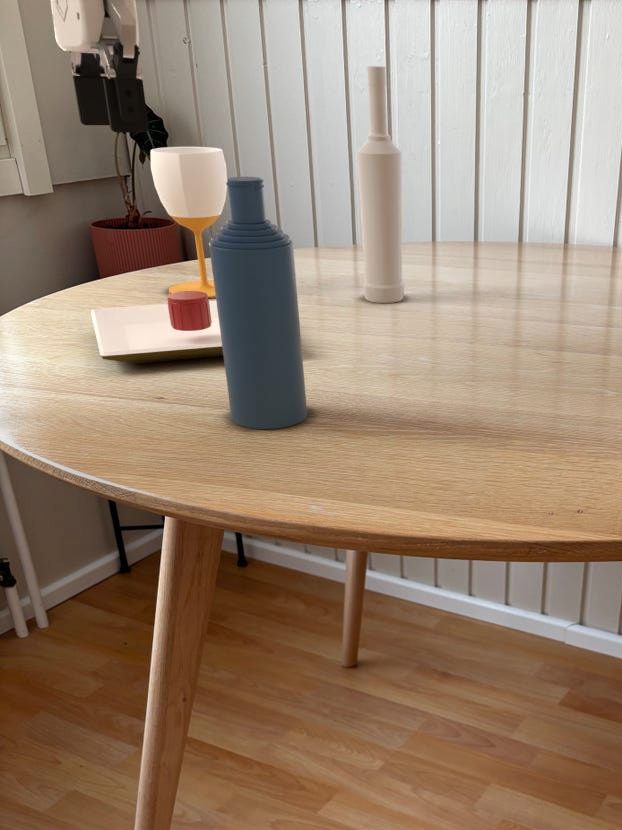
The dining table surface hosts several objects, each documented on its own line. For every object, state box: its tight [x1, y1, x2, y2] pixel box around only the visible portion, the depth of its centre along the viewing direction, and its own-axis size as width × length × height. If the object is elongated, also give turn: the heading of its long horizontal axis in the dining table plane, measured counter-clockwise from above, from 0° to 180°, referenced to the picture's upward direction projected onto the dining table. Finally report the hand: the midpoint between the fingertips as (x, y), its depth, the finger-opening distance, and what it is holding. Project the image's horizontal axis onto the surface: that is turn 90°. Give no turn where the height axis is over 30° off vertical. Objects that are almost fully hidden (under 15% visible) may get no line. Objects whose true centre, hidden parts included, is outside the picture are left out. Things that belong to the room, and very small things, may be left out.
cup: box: [150, 146, 228, 299], centre depth 116 cm, size 9×9×16 cm
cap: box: [166, 291, 212, 331], centre depth 96 cm, size 4×4×3 cm
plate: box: [90, 299, 223, 364], centre depth 99 cm, size 19×19×2 cm
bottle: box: [356, 65, 405, 304], centre depth 111 cm, size 5×5×25 cm
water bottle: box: [208, 176, 308, 430], centre depth 76 cm, size 6×6×18 cm
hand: (113, 128), depth 86 cm, fingers open, 9 cm apart
